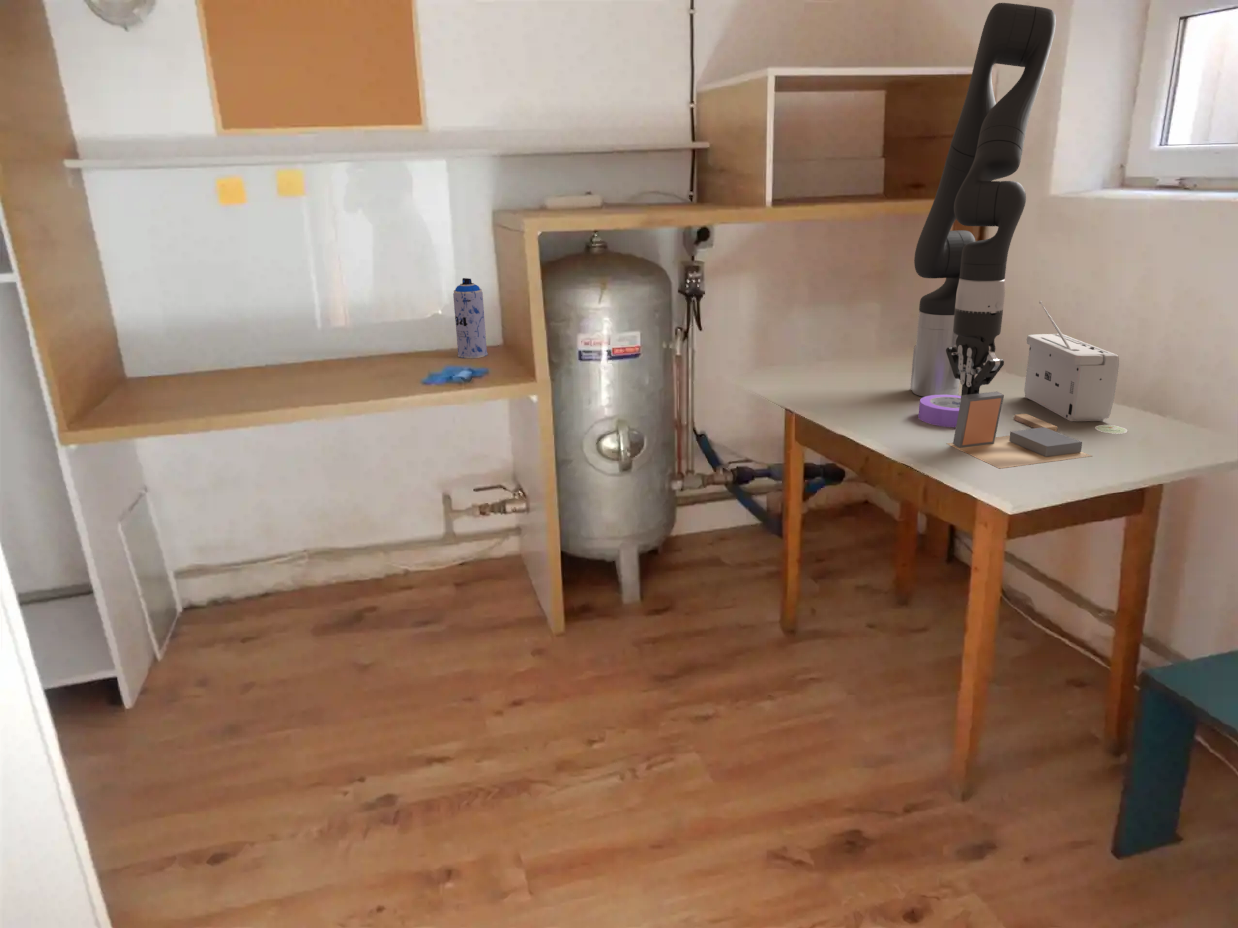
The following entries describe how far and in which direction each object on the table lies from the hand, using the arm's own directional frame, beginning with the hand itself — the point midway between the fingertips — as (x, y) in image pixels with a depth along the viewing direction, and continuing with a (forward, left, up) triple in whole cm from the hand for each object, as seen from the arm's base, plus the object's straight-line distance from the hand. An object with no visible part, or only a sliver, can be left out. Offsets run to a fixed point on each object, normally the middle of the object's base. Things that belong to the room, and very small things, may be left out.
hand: (968, 406), depth 158 cm
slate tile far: (+3, +10, -5) cm, 12 cm away
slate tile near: (+2, 0, -6) cm, 7 cm away
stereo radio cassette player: (-12, +31, -7) cm, 33 cm away
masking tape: (-13, +6, -7) cm, 16 cm away
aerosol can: (-108, -72, -7) cm, 130 cm away
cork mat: (+7, +5, -7) cm, 11 cm away
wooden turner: (-1, +17, -7) cm, 19 cm away
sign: (+7, +25, -7) cm, 27 cm away
